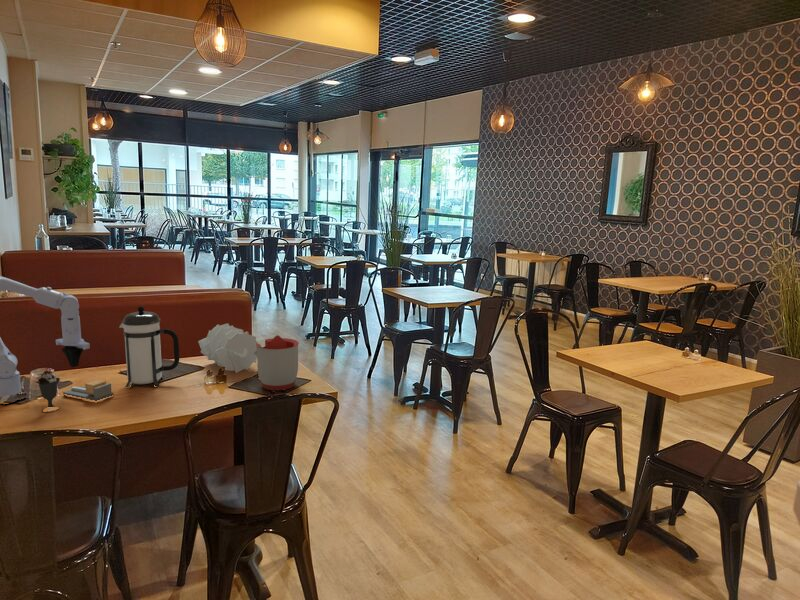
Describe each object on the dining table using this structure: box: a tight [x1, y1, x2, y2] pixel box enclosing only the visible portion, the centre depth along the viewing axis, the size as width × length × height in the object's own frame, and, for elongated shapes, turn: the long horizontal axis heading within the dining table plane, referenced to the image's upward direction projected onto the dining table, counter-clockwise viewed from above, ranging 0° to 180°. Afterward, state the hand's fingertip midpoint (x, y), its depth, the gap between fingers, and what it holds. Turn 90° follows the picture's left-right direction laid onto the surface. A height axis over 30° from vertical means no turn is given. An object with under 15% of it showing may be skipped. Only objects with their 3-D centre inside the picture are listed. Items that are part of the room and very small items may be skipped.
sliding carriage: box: [84, 379, 107, 395], centre depth 195 cm, size 4×5×4 cm
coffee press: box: [119, 305, 180, 388], centre depth 210 cm, size 17×16×30 cm
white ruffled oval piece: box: [198, 323, 259, 374], centre depth 234 cm, size 18×18×25 cm
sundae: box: [35, 364, 61, 407], centre depth 184 cm, size 7×7×15 cm
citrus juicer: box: [254, 334, 300, 391], centre depth 211 cm, size 16×17×20 cm
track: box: [62, 382, 115, 401], centre depth 197 cm, size 16×7×5 cm, turn 68°
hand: (74, 366), depth 201 cm, fingers closed
